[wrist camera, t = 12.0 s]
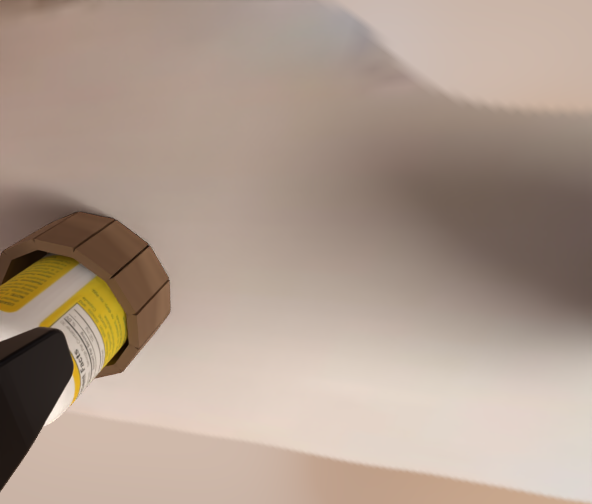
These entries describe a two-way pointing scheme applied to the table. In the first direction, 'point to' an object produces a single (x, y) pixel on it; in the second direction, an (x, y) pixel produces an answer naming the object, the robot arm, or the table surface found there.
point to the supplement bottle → (66, 316)
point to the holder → (104, 272)
